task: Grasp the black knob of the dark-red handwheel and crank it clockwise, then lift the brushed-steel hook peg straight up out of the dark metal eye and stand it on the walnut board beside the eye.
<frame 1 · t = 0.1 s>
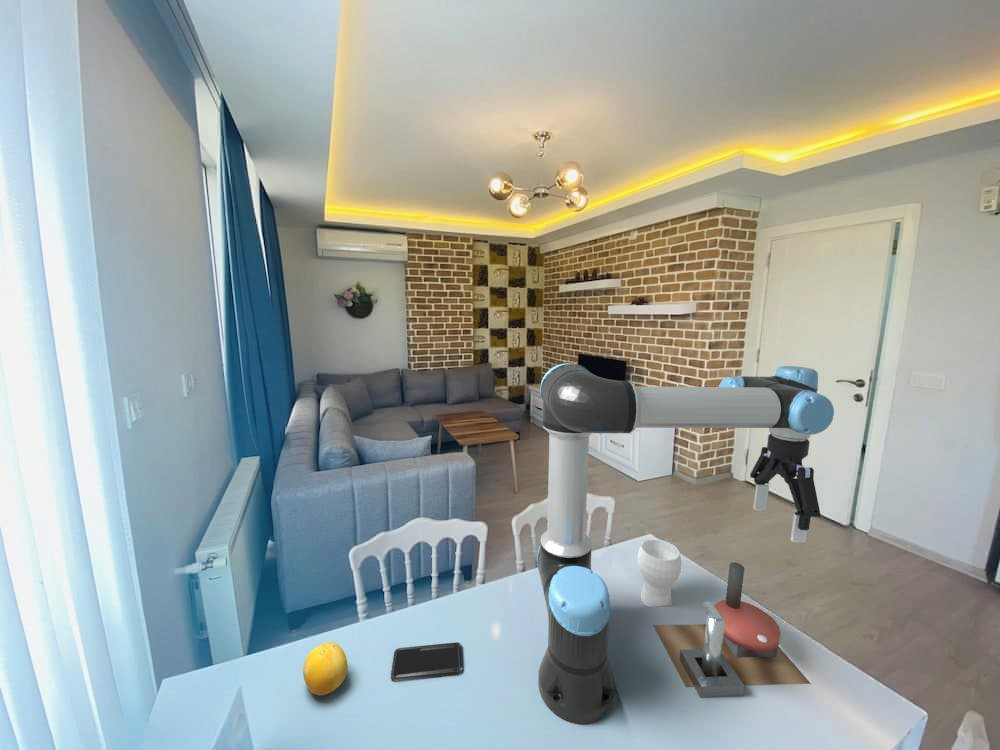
hand: (777, 524, 93), 28 cm above the table, fingers open, 13 cm apart
hook peg: (709, 677, 84), point 1 cm above the table, touching board
eye: (708, 683, 84), resting on board
board: (724, 657, 90), on the table
fruit: (326, 685, 83), on the table
phone: (427, 664, 88), on the table
cup: (655, 601, 107), on the table
handwheel: (747, 604, 91), point 11 cm above the table, hinge at 0.0°
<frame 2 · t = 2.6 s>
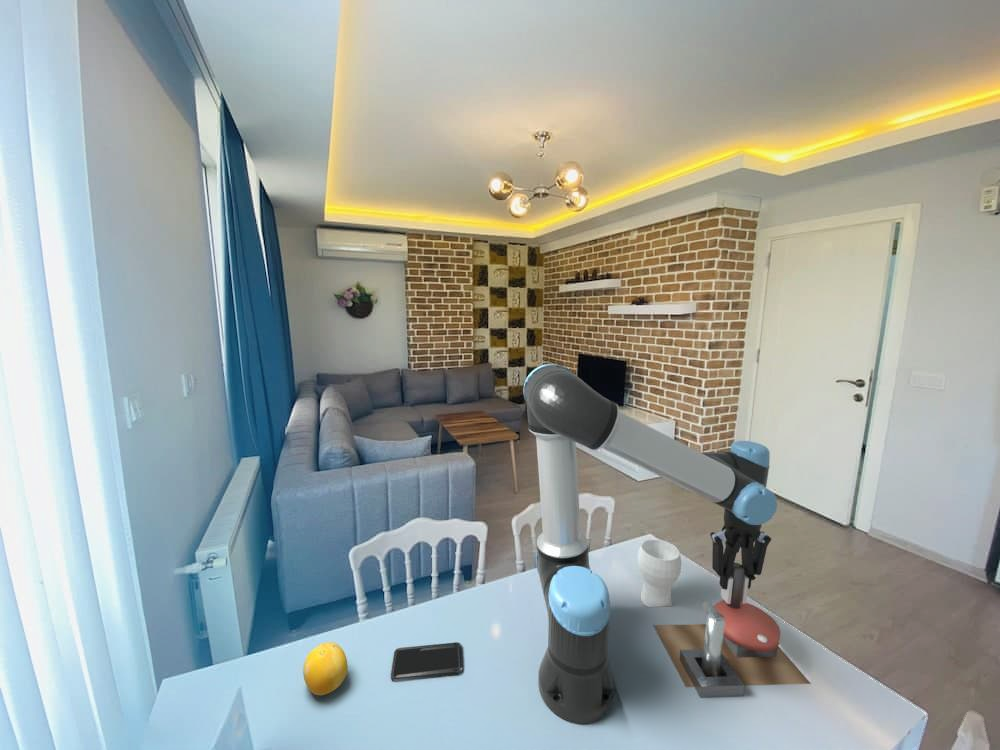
hand: (733, 599, 97), 8 cm above the table, fingers closed on handwheel, 3 cm apart
handwheel: (747, 604, 91), point 11 cm above the table, hinge at 0.0°, touching gripper
everything else where it was.
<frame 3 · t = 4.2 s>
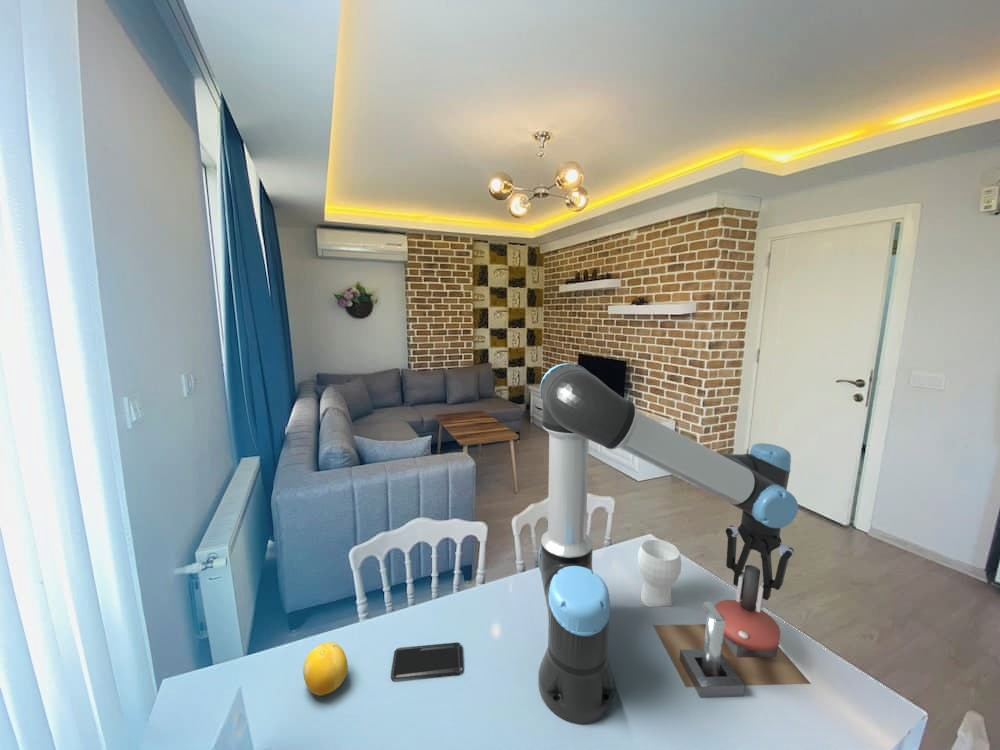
hand: (749, 603, 96), 8 cm above the table, fingers open, 4 cm apart
handwheel: (747, 604, 91), point 11 cm above the table, hinge at -38.2°, touching gripper
everything else where it was.
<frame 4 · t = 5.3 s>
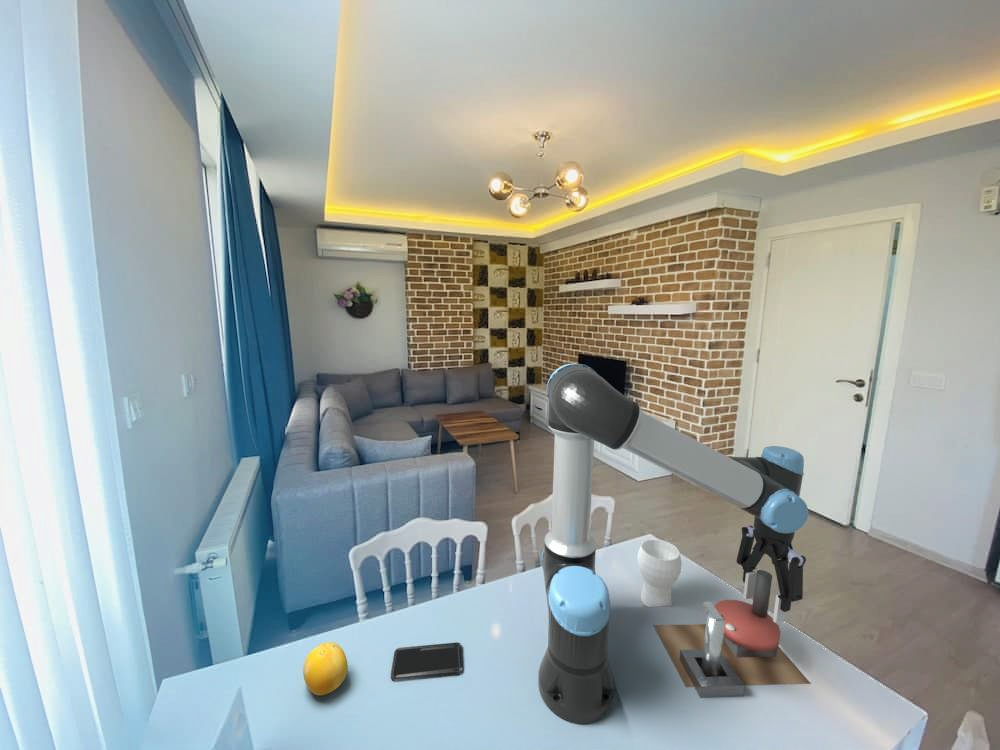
hand: (763, 608, 93), 9 cm above the table, fingers open, 7 cm apart
handwheel: (747, 604, 91), point 11 cm above the table, hinge at -66.0°
everything else where it was.
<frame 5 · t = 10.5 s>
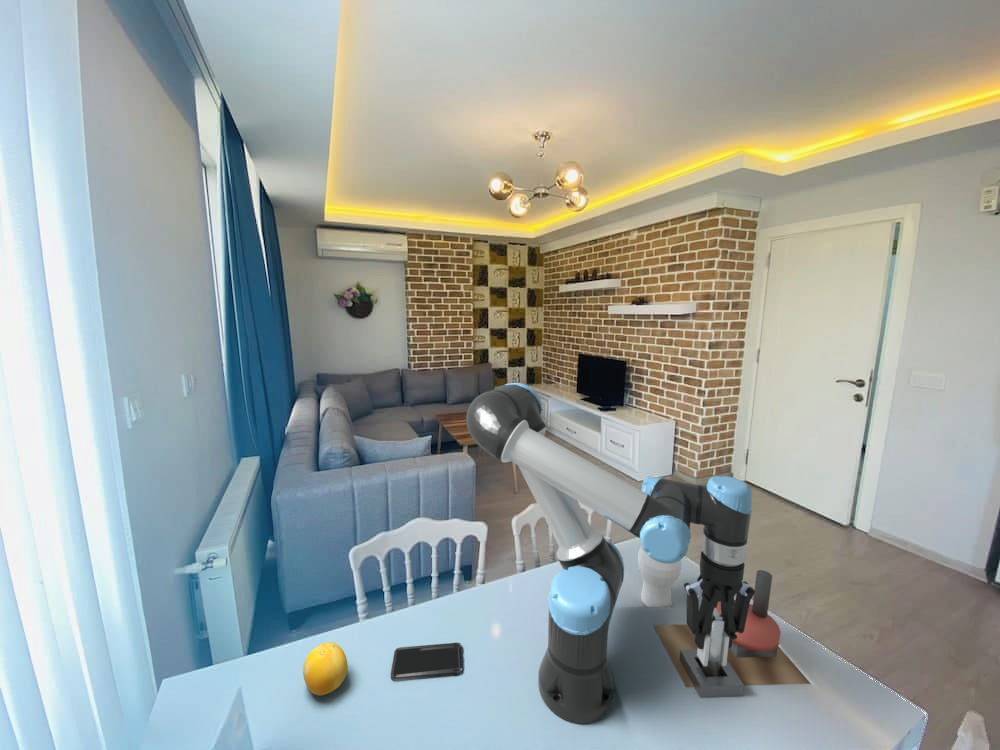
hand: (711, 660, 83), 6 cm above the table, fingers closed on hook peg, 3 cm apart
hook peg: (709, 677, 84), point 2 cm above the table, touching gripper
everything else where it was.
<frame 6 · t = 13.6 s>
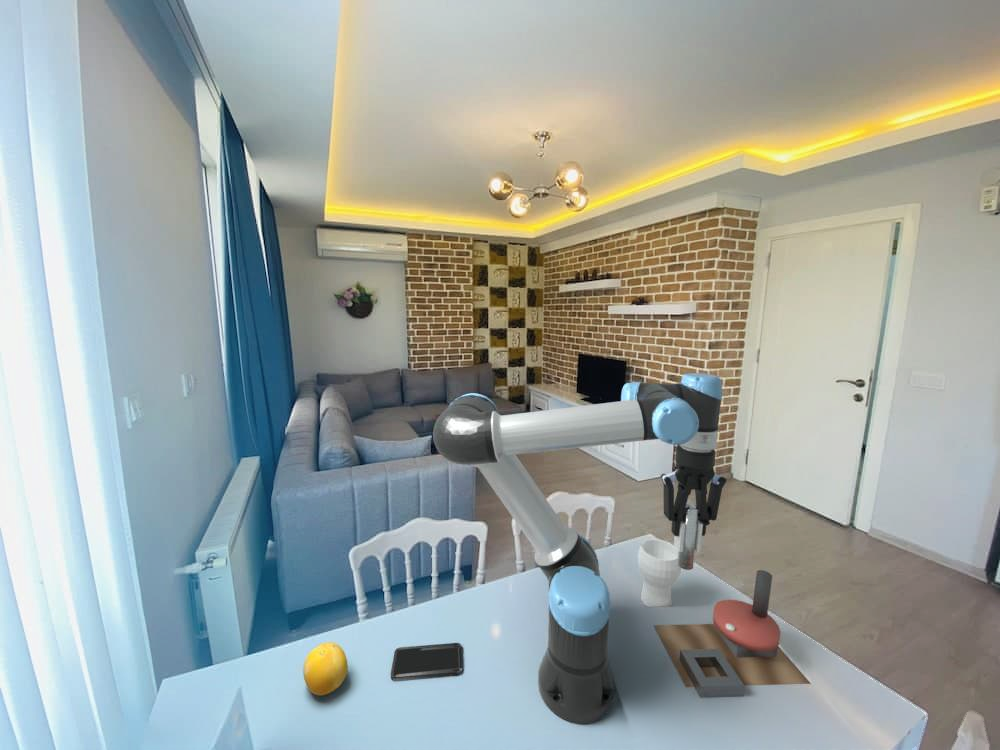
hand: (686, 548, 89), 25 cm above the table, fingers closed on hook peg, 3 cm apart
hook peg: (685, 565, 90), point 20 cm above the table, touching gripper
everything else where it was.
when the fingers open (7 cm above the table, at t = 17.1 s): hook peg stays where it is, resting on board.
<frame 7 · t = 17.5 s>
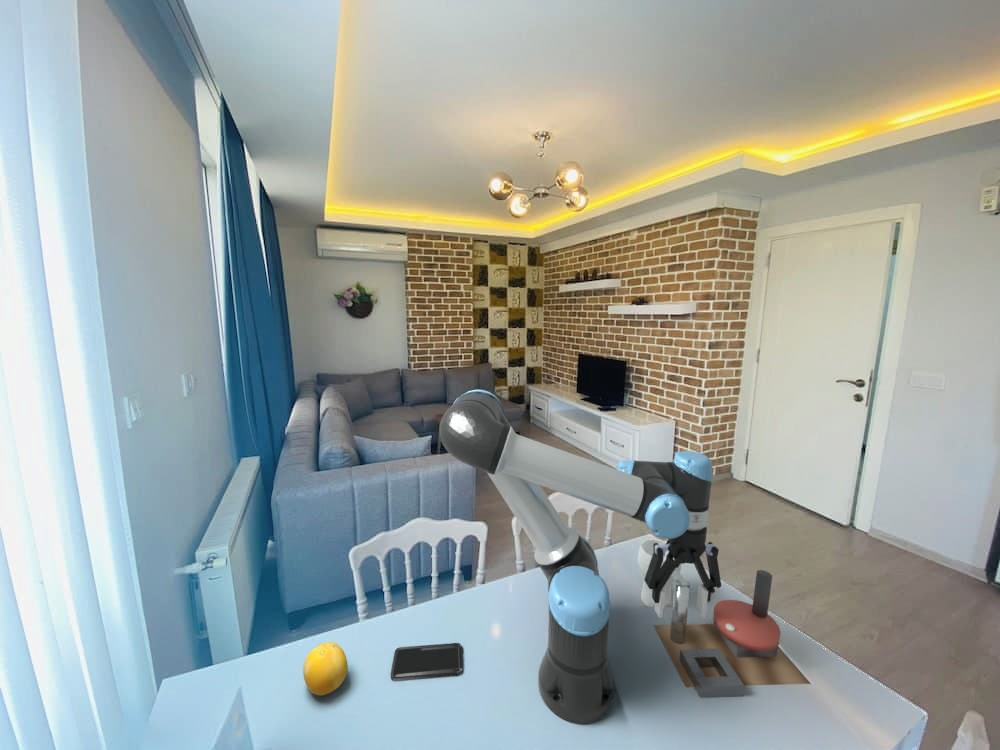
hand: (679, 613, 92), 8 cm above the table, fingers open, 9 cm apart
hook peg: (677, 638, 93), point 2 cm above the table, touching board
everything else where it was.
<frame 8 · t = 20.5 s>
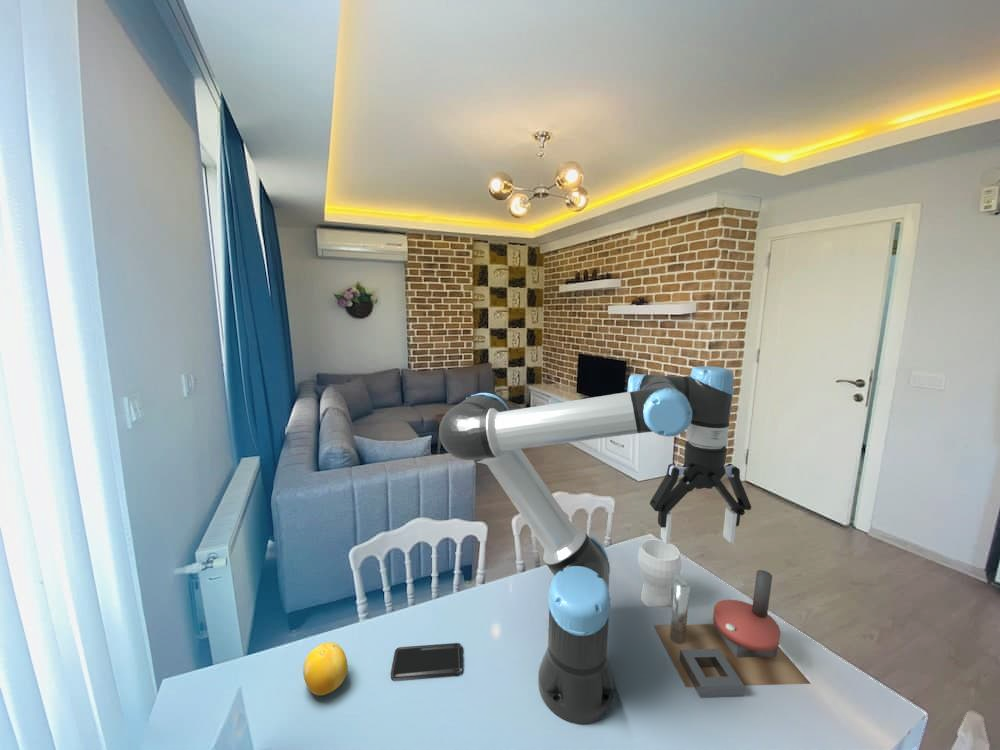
hand: (696, 540, 85), 29 cm above the table, fingers open, 13 cm apart
nothing on the table moved.
at the end: handwheel at -66° (first picture: +0°); hook peg inside the target area (0.8 cm from its centre), point 1.5 cm above the table; the gripper is holding nothing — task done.
